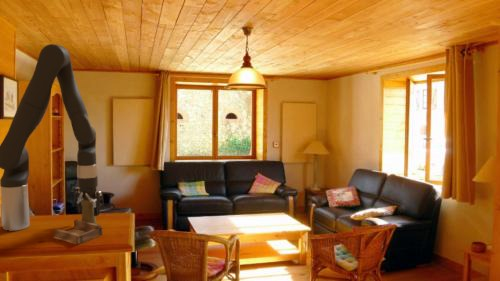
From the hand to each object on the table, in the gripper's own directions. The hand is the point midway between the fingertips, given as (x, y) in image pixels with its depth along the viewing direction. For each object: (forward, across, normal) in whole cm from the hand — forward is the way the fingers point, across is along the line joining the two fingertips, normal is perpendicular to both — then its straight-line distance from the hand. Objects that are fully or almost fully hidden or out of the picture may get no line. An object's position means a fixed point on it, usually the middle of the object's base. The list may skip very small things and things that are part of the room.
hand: (88, 214), depth 166 cm
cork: (+5, 0, 0) cm, 5 cm away
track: (+4, +6, -11) cm, 13 cm away
